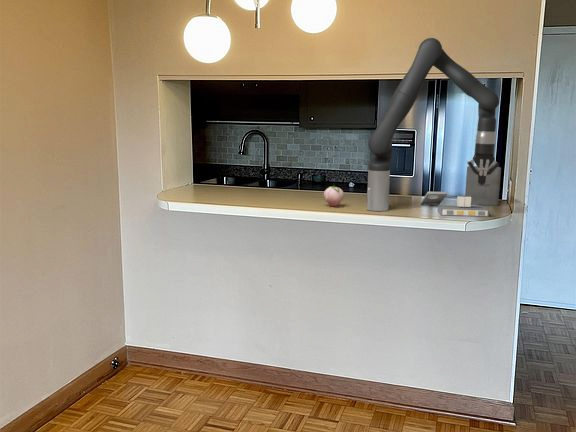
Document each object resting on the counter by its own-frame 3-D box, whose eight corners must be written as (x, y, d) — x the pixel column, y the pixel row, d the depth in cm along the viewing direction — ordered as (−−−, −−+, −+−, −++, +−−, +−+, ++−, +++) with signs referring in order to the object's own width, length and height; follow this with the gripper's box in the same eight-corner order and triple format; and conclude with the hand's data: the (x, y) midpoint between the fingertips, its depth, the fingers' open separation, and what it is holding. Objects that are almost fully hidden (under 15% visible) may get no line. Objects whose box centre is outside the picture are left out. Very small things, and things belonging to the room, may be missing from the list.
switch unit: (441, 215, 234) (441, 208, 233) (437, 211, 243) (437, 204, 243) (488, 217, 232) (489, 209, 231) (483, 212, 241) (483, 205, 241)
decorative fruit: (347, 207, 251) (348, 185, 249) (332, 208, 247) (332, 186, 245) (335, 204, 259) (336, 182, 258) (320, 205, 255) (321, 183, 254)
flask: (465, 204, 263) (468, 161, 260) (464, 202, 269) (467, 160, 265) (499, 206, 260) (502, 162, 257) (497, 204, 266) (500, 161, 262)
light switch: (438, 201, 262) (446, 189, 249) (439, 213, 261) (447, 202, 247) (420, 200, 263) (427, 189, 249) (421, 212, 261) (428, 202, 247)
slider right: (464, 206, 235) (465, 196, 235) (462, 205, 239) (463, 195, 238) (470, 206, 235) (471, 196, 234) (469, 205, 238) (469, 195, 238)
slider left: (458, 206, 236) (458, 196, 235) (456, 205, 239) (457, 195, 238) (464, 206, 235) (465, 196, 235) (462, 205, 239) (463, 195, 238)
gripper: (470, 142, 229) (466, 185, 232) (504, 143, 227) (500, 186, 231) (466, 141, 236) (463, 182, 239) (499, 142, 235) (495, 184, 238)
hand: (481, 184), depth 235 cm, fingers closed
